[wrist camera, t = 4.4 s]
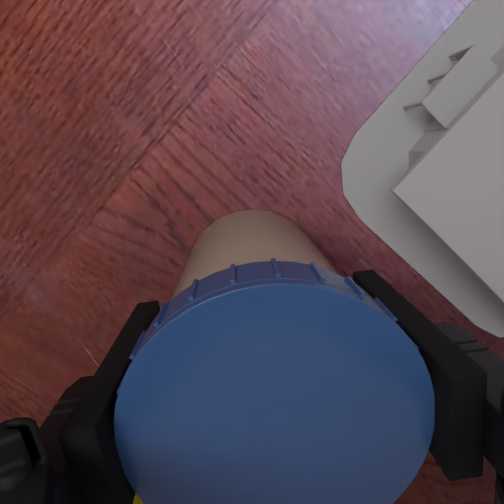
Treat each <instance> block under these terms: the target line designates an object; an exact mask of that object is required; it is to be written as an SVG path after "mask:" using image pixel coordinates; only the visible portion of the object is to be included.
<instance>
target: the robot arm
mask: <svg viewBox="0 0 504 504" xmlns="http://www.w3.org/2000/svg"><path fill="white" fill-rule="evenodd" d="M352 273H353V281H354V282H355V283H356V284H357V285H358V286H359V287H361V288H362V289H363V290H364V291H365V292H367V293H368V294H369V295H370V296H371V297H372V298H373V299H375V298H376V297H377V298H378V299H379V300H380V301H381V302H382V303H383V304H384V305H385V306H386V307H387V308H388V309H389V310H390V311H391V313H392V314H393V315H394V316H395V317H396V318H397V319H398V320H397V321H396V323H397V324H398V325H399V326H400V328H401V329H402V330H403V331H404V332H405V333H406V335H407V336H408V337H409V338H410V339H411V340H412V341H413V342H414V343H415V344H416V345H417V346H418V348H419V353H420V354H421V356H422V357H423V359H424V362H425V364H426V367H427V369H428V371H429V374H430V377H431V381H432V385H433V390H434V395H435V421H434V431H433V436H432V440H431V444H430V447H429V451H430V452H431V454H432V455H433V457H434V458H435V460H436V461H437V463H438V465H439V466H440V468H441V469H442V471H443V472H444V474H445V475H446V477H447V479H448V480H449V481H454V480H460V479H467V478H474V477H481V476H482V473H483V455H484V456H485V457H486V459H487V460H488V461H489V462H490V464H491V465H492V466H493V467H494V469H495V470H496V485H495V501H494V504H504V360H502V359H501V358H500V357H499V356H497V355H496V354H495V353H494V352H492V351H491V350H488V348H487V347H486V346H485V345H484V344H482V343H481V342H478V341H477V339H476V338H475V337H473V336H472V335H471V334H470V333H468V332H467V331H466V330H464V329H462V328H459V327H457V326H455V325H452V324H450V323H442V324H435V325H434V324H433V323H432V322H431V321H430V320H428V319H427V318H426V317H425V316H424V315H423V314H422V313H421V312H419V311H418V310H417V309H416V308H415V307H414V306H413V305H412V304H410V303H409V302H408V301H407V300H406V299H405V298H404V297H403V296H402V295H400V294H399V293H398V292H397V291H396V290H395V289H394V288H393V287H391V286H390V285H389V284H388V283H387V282H386V281H385V280H384V279H382V278H381V277H380V276H379V275H378V274H377V273H376V272H375V271H373V270H366V271H359V272H352ZM159 312H160V307H159V302H158V301H151V302H144V303H138V304H137V306H136V307H135V309H134V311H133V312H132V314H131V316H130V317H129V319H128V321H127V322H126V324H125V326H124V327H123V329H122V330H121V332H120V334H119V335H118V337H117V339H116V340H115V342H114V344H113V345H112V347H111V348H110V350H109V352H108V353H107V355H106V357H105V358H104V360H103V362H102V363H101V365H100V366H99V368H98V370H97V371H96V373H95V375H94V376H87V377H81V378H80V379H78V380H77V381H76V382H75V383H73V384H72V385H71V386H70V387H69V388H67V389H66V391H65V392H64V394H63V395H62V396H61V398H60V399H59V401H58V402H57V403H58V404H57V405H55V407H54V408H53V409H52V411H51V412H50V416H48V417H47V418H46V420H45V421H44V423H43V424H42V425H41V427H40V428H38V426H37V423H36V421H35V420H33V419H31V418H15V419H11V420H7V421H4V422H2V423H0V504H133V501H134V497H135V494H136V493H135V491H134V490H133V489H132V487H131V485H130V483H129V482H128V480H127V478H126V476H125V474H124V471H123V468H122V465H121V462H120V458H119V455H118V451H117V448H116V444H115V441H114V413H115V404H116V400H117V397H118V394H117V390H118V388H119V386H120V384H121V382H122V380H123V378H124V375H125V373H126V371H127V369H128V367H129V365H130V363H131V362H132V359H130V358H129V357H130V355H131V353H132V351H133V349H134V347H135V345H136V343H137V341H138V339H139V337H140V335H141V333H142V331H144V332H146V331H147V329H148V328H149V326H150V325H151V323H152V322H153V320H154V319H155V317H156V316H157V315H158V314H159Z"/></svg>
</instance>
